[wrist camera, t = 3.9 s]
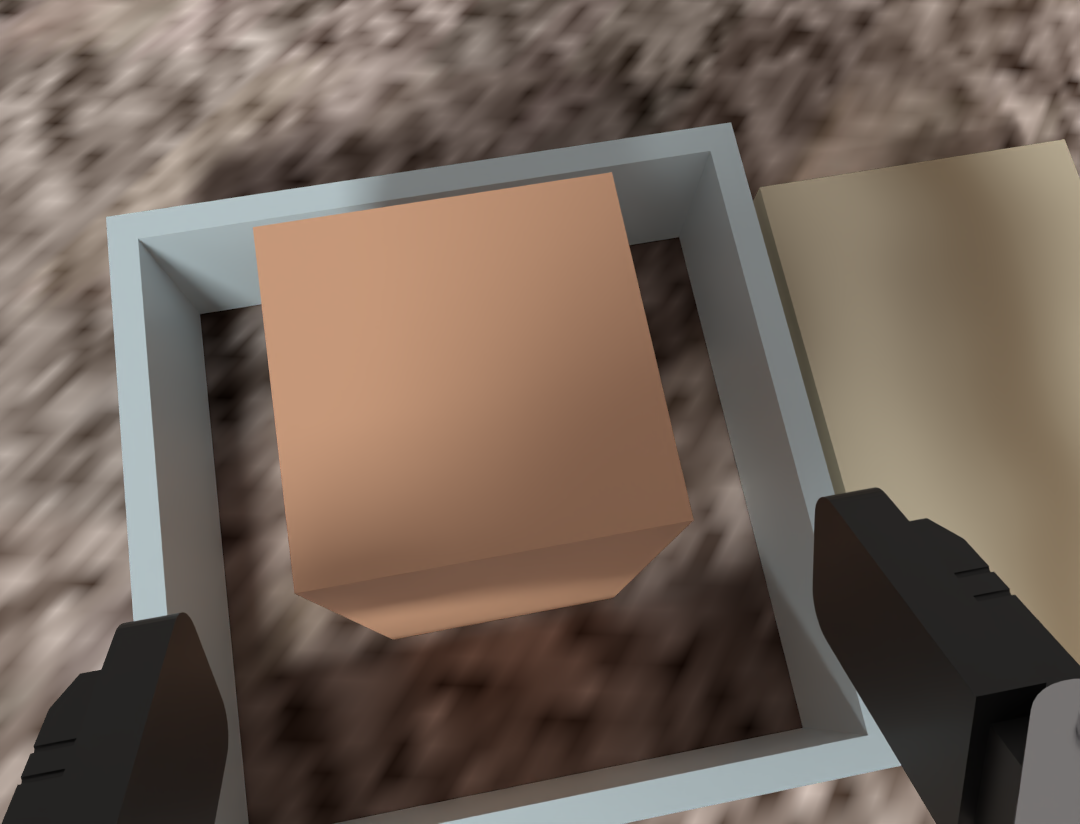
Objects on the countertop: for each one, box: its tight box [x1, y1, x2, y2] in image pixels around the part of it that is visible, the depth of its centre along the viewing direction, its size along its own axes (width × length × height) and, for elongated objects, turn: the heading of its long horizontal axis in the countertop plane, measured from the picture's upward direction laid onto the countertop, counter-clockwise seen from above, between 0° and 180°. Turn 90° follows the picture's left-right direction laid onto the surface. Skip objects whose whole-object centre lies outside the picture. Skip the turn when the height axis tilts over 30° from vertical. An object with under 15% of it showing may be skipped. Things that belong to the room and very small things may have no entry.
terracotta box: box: [253, 172, 694, 640], centre depth 17 cm, size 5×5×10 cm
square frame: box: [106, 122, 901, 824], centre depth 20 cm, size 13×13×4 cm
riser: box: [753, 139, 1080, 665], centre depth 22 cm, size 8×12×2 cm, turn 11°
